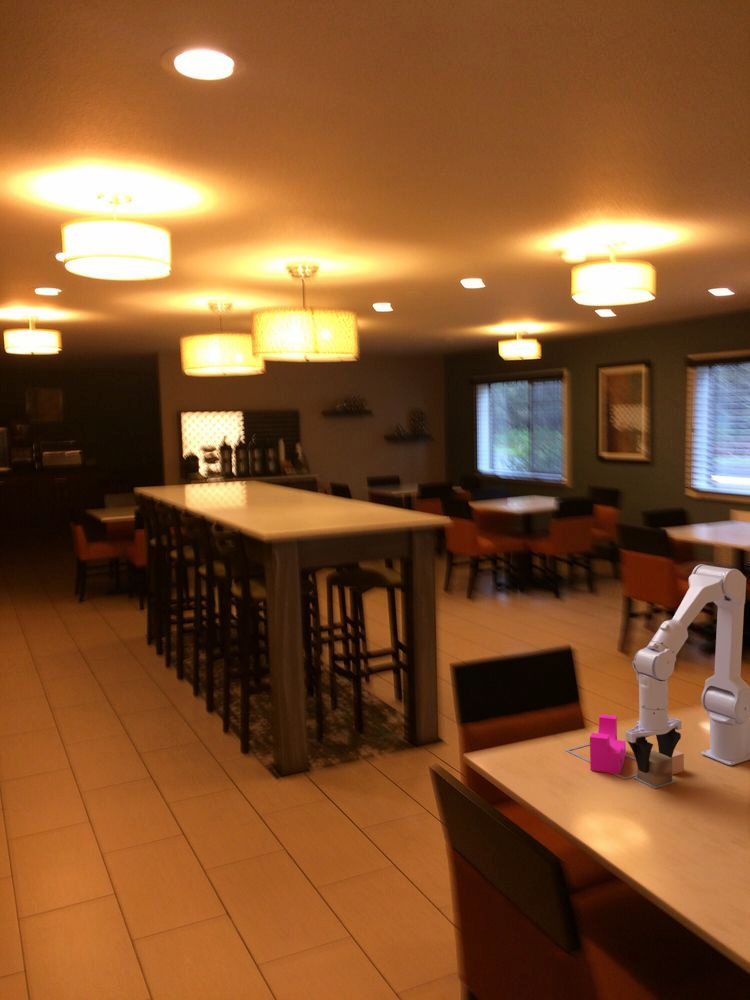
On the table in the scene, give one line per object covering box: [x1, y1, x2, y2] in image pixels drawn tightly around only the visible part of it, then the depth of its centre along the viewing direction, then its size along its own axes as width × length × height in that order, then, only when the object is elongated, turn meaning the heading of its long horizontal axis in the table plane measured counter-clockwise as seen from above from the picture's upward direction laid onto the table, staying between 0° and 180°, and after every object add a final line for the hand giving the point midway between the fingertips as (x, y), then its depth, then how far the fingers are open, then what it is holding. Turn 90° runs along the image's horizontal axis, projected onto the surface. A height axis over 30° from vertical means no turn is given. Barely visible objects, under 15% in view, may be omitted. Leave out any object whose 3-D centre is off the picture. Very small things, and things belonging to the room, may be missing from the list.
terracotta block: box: [656, 749, 685, 775], centre depth 173 cm, size 4×4×4 cm
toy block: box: [589, 714, 627, 775], centre depth 179 cm, size 15×6×8 cm, turn 155°
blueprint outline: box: [565, 743, 676, 790], centre depth 177 cm, size 10×25×1 cm, turn 28°
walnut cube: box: [636, 750, 673, 786], centre depth 168 cm, size 5×5×5 cm
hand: (654, 767), depth 168 cm, fingers open, 6 cm apart
